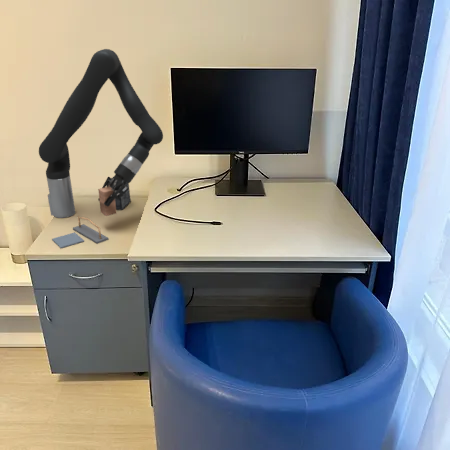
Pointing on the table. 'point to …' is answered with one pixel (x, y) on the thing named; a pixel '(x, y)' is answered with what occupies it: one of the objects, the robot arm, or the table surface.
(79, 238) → the mat
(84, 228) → the board with wooden handle
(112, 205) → the block
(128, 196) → the small box
